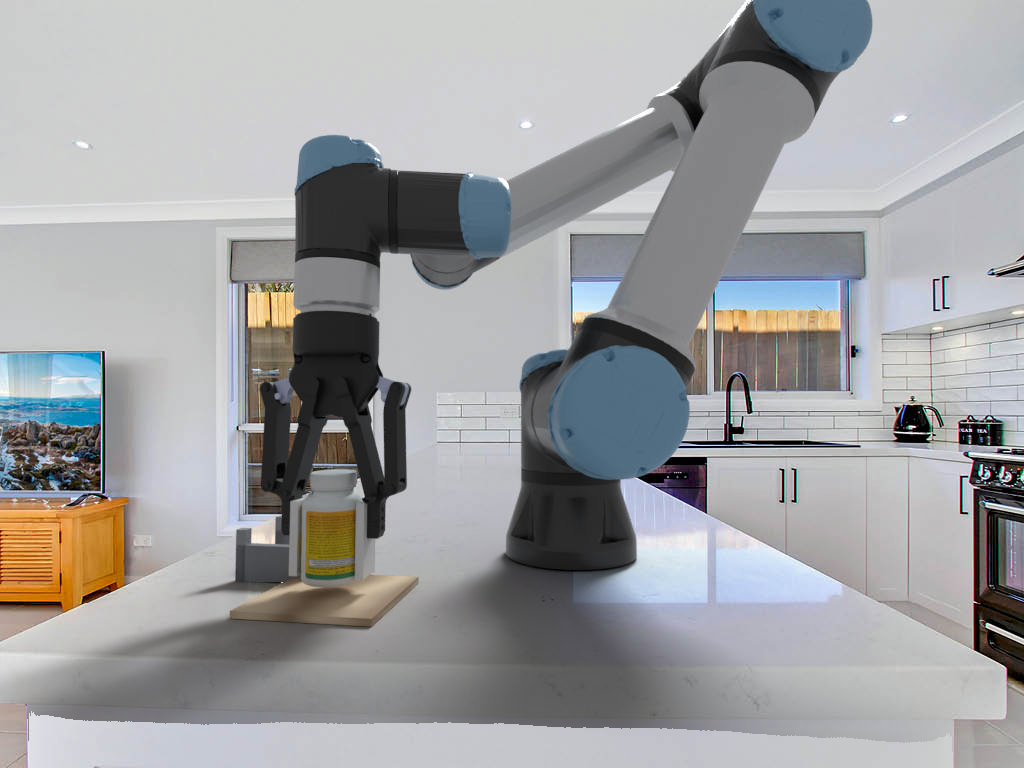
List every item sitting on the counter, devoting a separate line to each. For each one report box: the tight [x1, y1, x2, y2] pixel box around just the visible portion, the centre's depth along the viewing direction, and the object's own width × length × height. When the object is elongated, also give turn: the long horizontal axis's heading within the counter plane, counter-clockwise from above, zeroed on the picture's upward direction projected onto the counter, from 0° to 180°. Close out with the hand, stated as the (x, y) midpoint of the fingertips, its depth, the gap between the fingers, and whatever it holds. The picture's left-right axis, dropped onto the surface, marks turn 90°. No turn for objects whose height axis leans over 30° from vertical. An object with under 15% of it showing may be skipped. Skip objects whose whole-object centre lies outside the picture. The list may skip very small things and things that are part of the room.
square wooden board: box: [229, 574, 420, 628], centre depth 54 cm, size 12×12×1 cm
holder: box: [234, 514, 301, 583], centre depth 63 cm, size 8×8×5 cm
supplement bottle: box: [301, 468, 363, 587], centre depth 54 cm, size 5×5×10 cm
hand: (332, 573), depth 54 cm, fingers closed on supplement bottle, 5 cm apart
